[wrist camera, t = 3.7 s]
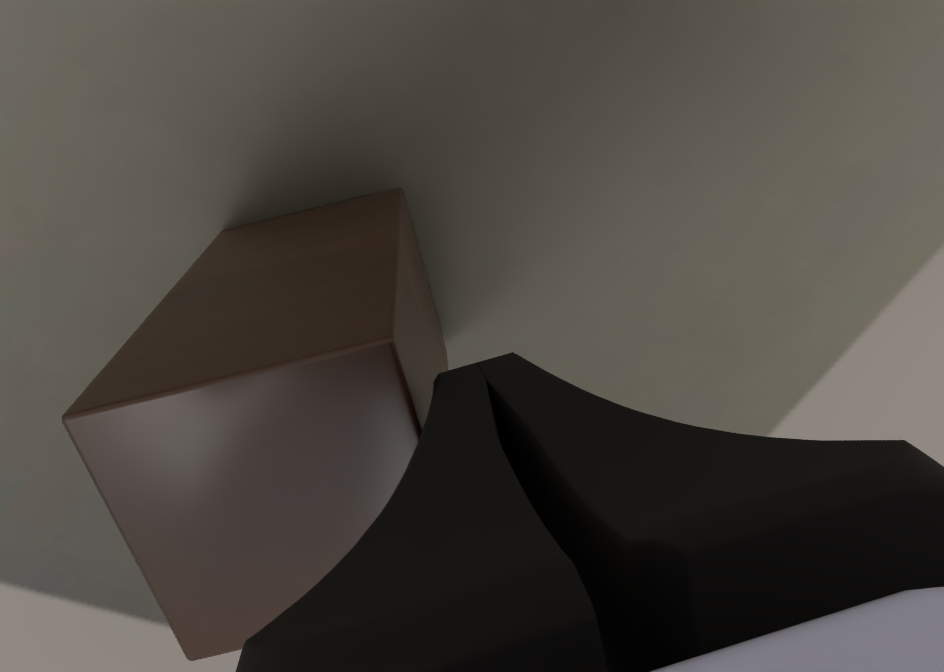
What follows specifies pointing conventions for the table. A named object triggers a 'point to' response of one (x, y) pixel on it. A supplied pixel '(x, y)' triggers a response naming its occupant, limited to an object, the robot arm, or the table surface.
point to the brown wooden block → (265, 413)
